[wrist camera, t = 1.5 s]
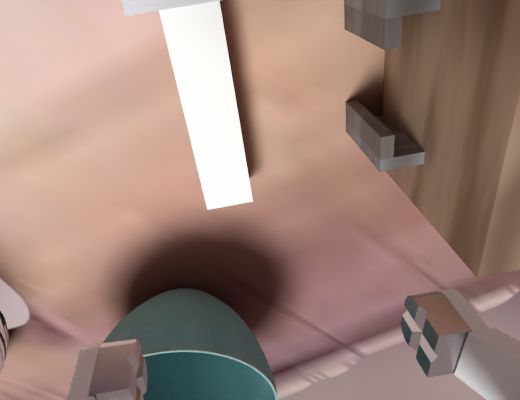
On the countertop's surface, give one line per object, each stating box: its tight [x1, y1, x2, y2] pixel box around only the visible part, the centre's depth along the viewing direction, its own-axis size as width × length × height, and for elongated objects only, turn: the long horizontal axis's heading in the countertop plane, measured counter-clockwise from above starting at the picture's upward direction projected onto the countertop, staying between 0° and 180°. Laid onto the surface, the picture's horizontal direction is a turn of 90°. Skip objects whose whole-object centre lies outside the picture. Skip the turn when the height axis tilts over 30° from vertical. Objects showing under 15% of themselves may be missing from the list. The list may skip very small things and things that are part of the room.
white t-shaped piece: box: [121, 0, 253, 210], centre depth 31 cm, size 17×8×6 cm, turn 8°
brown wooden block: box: [344, 0, 520, 278], centre depth 27 cm, size 8×20×16 cm, turn 8°
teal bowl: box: [103, 288, 278, 400], centre depth 41 cm, size 18×18×12 cm
